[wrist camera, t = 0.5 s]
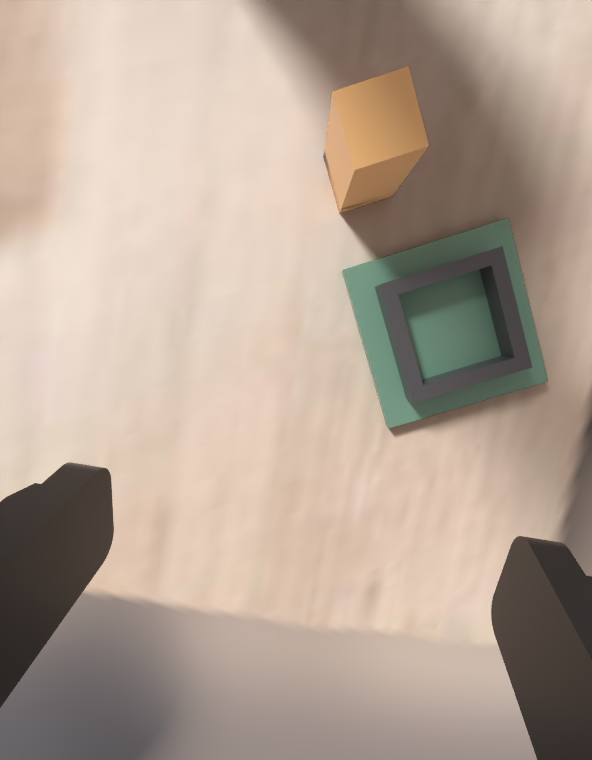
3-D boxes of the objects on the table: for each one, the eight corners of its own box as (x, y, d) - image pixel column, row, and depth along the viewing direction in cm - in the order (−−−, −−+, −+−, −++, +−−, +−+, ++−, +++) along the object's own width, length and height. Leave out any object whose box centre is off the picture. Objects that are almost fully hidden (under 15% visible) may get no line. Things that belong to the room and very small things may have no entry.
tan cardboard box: (323, 157, 32) (332, 91, 23) (377, 139, 31) (408, 65, 22) (339, 213, 32) (354, 170, 23) (392, 196, 32) (429, 145, 23)
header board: (341, 271, 32) (346, 266, 30) (502, 221, 32) (522, 210, 29) (386, 425, 34) (394, 435, 31) (540, 379, 33) (564, 384, 30)
